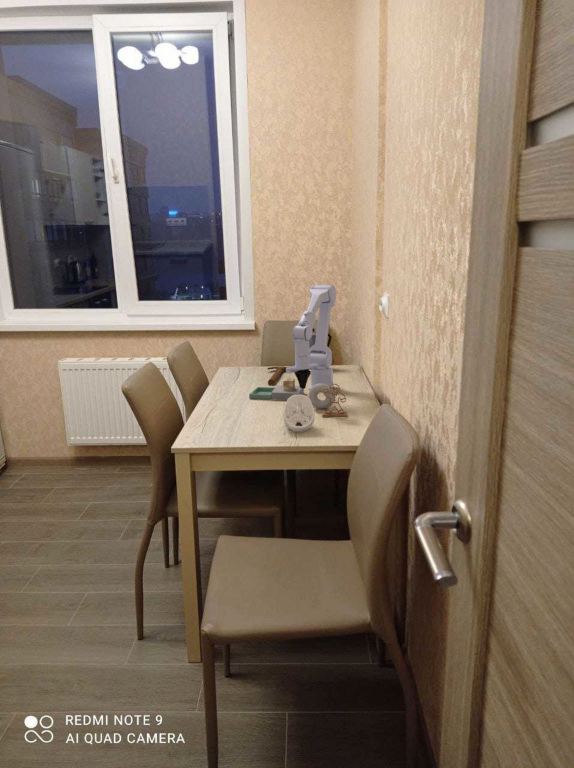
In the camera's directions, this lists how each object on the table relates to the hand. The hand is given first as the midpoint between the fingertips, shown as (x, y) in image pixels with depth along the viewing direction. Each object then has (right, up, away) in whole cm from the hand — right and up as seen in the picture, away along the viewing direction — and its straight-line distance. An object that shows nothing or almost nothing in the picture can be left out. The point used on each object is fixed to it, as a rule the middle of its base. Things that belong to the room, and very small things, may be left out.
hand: (302, 388), depth 228 cm
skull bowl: (-2, -13, -37) cm, 40 cm away
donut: (+7, -8, -16) cm, 19 cm away
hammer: (-12, +4, +36) cm, 38 cm away
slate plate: (-6, -3, +2) cm, 7 cm away
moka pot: (+8, +10, +55) cm, 56 cm away
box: (-16, -3, +4) cm, 17 cm away
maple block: (-6, -1, +1) cm, 6 cm away
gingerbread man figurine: (+11, -10, -25) cm, 29 cm away
